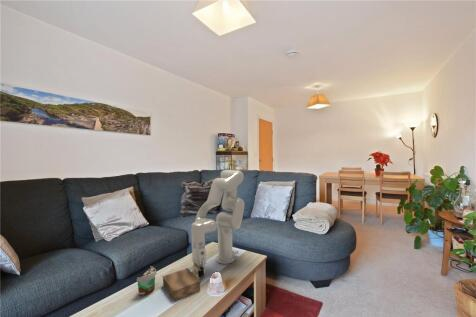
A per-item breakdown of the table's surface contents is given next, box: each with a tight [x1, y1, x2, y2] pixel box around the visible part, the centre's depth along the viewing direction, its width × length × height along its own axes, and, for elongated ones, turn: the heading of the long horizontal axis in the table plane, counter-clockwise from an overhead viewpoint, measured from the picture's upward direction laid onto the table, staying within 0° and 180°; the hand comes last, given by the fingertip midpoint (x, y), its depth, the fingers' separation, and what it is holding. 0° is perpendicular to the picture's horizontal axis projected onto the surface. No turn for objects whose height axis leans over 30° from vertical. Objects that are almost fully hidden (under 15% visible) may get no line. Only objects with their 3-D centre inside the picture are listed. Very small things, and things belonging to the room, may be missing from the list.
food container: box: [136, 265, 158, 297], centre depth 118 cm, size 12×6×10 cm, turn 168°
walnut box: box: [162, 267, 201, 302], centre depth 120 cm, size 14×16×5 cm
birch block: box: [192, 263, 206, 280], centre depth 132 cm, size 5×5×6 cm
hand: (198, 274), depth 132 cm, fingers closed on birch block, 5 cm apart
